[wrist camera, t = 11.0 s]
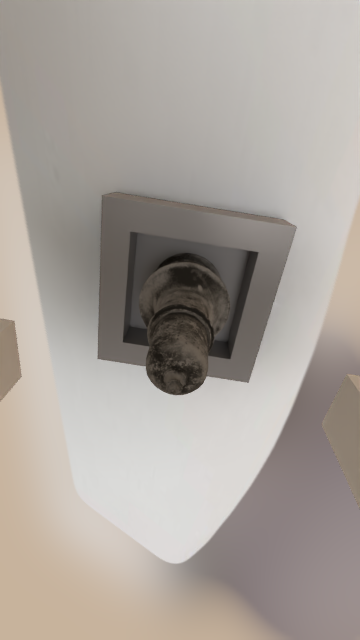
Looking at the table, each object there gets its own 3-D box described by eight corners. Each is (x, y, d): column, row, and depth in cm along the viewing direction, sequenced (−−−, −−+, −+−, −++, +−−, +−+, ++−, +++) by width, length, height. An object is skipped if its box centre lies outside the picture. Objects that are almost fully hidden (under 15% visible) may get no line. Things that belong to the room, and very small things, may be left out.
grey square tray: (115, 192, 20) (102, 195, 18) (284, 219, 20) (296, 227, 18) (108, 339, 26) (97, 358, 23) (243, 360, 26) (248, 382, 23)
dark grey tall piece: (173, 335, 24) (151, 463, 14) (132, 273, 22) (68, 367, 12) (239, 302, 23) (274, 418, 12) (202, 233, 21) (203, 298, 10)
